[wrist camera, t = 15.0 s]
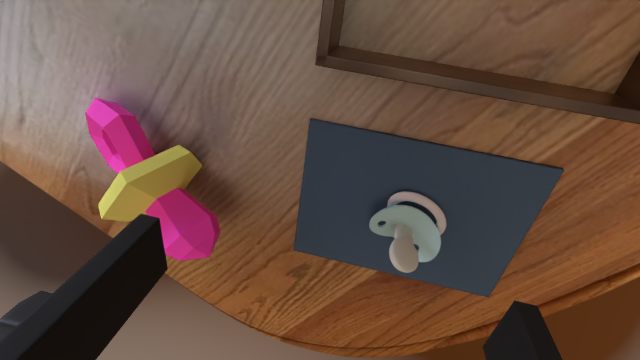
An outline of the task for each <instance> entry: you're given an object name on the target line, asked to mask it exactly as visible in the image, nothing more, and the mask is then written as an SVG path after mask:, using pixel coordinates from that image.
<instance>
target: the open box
mask: <svg viewBox="0 0 640 360" xmlns="http://www.w3.org/2000/svg"><path fill="white" fill-rule="evenodd" d="M344 5H345V0H323V5H322V13H321V22H320V30H319V38H318V46H317V54H316V63H315V64H316V65H317V66H323V67H328V68H334V69H339V70H345V71H350V72H356V73H361V74H367V75H372V76H378V77H383V78H389V79H394V80H400V81H405V82H411V83H416V84H422V85H427V86H433V87H438V88H444V89H449V90H455V91H460V92H466V93H471V94H477V95H482V96H488V97H493V98H499V99H504V100H510V101H515V102H521V103H526V104H532V105H537V106H543V107H548V108H554V109H559V110H565V111H570V112H576V113H581V114H587V115H592V116H598V117H603V118H609V119H614V120H620V121H625V122H631V123H636V124H640V53H639V55H638V57H637V58H636V60H635V62H634V63H633V65H632V66H631V68H630V70H629V71H628V73H627V75H626V76H625V78H624V80H623V81H622V83H621V85H620V86H619V88H618V90H617V91H616V93H615V94H612V93H606V92H600V91H594V90H589V89H583V88H577V87H571V86H566V85H560V84H554V83H548V82H543V81H537V80H531V79H526V78H520V77H514V76H508V75H503V74H497V73H491V72H485V71H480V70H474V69H468V68H462V67H457V66H451V65H445V64H440V63H434V62H428V61H422V60H417V59H411V58H405V57H399V56H394V55H388V54H382V53H376V52H371V51H365V50H359V49H354V48H348V47H342V46H338V45H339V38H340V32H341V25H342V18H343V12H344Z"/></svg>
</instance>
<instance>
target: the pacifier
mask: <svg viewBox="0 0 640 360" xmlns="http://www.w3.org/2000/svg"><path fill="white" fill-rule="evenodd" d="M403 201H411V202H415V203H418V204H420V205H423V206H424V207H426V208H427V209H428V210H429V211H430V212H432V214H433V215H434V216H435V218H436V220H437V223H436V225H435V224H434V222H433V221H432V220H431V218H430V217H429V216H427V215H426V214H425V213H424V212H422V211H421V210H419V209H417V208H414V207H412V206H407V205H397V204H398V203H400V202H403ZM380 221H385V222H386V223H385V224H384V225H378V223H379V222H380ZM446 226H447V224H446V218H445V215H444V213H443V212H442V210H441V209H440V207H439V206H437V205H436V204H435V203H434V202H433V201H432V200H430V199H429V198H427V197H425V196H423V195H421V194H418V193H414V192H404V191H403V192H399V193H396V194H394V195H392V196H391V197H390V199H389V200H388V204H387V208H384V209H382V210H380V211H379V212H377V213H376V214H375V215H374V216H373V217H372V218H371V220H370V223H369V227H370V229H371V231H373V232H374V233H376V234H379V235H382V236H391V237H394V238H395V240H394V241H393V242H392V244H391V246H390V250H389V256H390V260H391V262H392V264H393V266H394V267H395V268H396V269H398V270H399V271H401V272H405V273H409V272H413V271H414V270H416V268H417V266H418V263H419V262H428V261H431V260H432V259H434V258H435V257H436V256H437V254H438V252H439V249H440V246H441V237H440V235H441V234H442V233H443V232H444V231H445V229H446ZM414 244H416V245H418V246H419V249H418V250H416V248H415V246H414Z"/></svg>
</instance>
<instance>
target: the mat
mask: <svg viewBox="0 0 640 360" xmlns="http://www.w3.org/2000/svg"><path fill="white" fill-rule="evenodd" d="M563 172H564V170H563V169H562V168H558V167H553V166H548V165H543V164H538V163H533V162H528V161H523V160H518V159H512V158H507V157H502V156H497V155H492V154H487V153H482V152H477V151H472V150H467V149H462V148H457V147H452V146H447V145H442V144H437V143H432V142H427V141H422V140H417V139H412V138H407V137H402V136H397V135H392V134H387V133H382V132H377V131H372V130H367V129H362V128H356V127H351V126H346V125H341V124H336V123H331V122H326V121H321V120H316V119H310V124H309V133H308V141H307V149H306V157H305V165H304V173H303V181H302V189H301V197H300V205H299V213H298V221H297V229H296V237H295V245H294V250H295V251H299V252H303V253H307V254H311V255H315V256H320V257H324V258H328V259H332V260H336V261H340V262H344V263H349V264H353V265H357V266H361V267H365V268H369V269H373V270H378V271H382V272H386V273H390V274H394V275H398V276H402V277H407V278H411V279H415V280H419V281H423V282H427V283H431V284H436V285H440V286H444V287H448V288H452V289H456V290H460V291H465V292H469V293H473V294H477V295H481V296H485V297H489V296H490V294H491V292H492V291H493V289H494V287H495V286H496V284H497V282H498V281H499V279H500V277H501V276H502V274H503V272H504V271H505V269H506V267H507V266H508V264H509V262H510V261H511V259H512V257H513V255H514V254H515V252H516V250H517V249H518V247H519V245H520V244H521V242H522V240H523V239H524V237H525V235H526V234H527V232H528V230H529V229H530V227H531V225H532V224H533V222H534V220H535V219H536V217H537V215H538V214H539V212H540V210H541V209H542V207H543V205H544V204H545V202H546V200H547V199H548V197H549V195H550V193H551V192H552V190H553V188H554V187H555V185H556V183H557V182H558V180H559V178H560V177H561V175H562V173H563ZM403 191H404V192H414V193H418V194H421V195H423V196H425V197H427V198H429V199H430V200H432V201H433V202H434V203H435V204H436V205H437V206H439V207H440V209H441V210H442V212H443V213H444V215H445V218H446V224H447V226H446V229H445V231H444V232H443V233H442V234H441V235H440V237H441V246H440V249H439V252H438V254H437V256H436V257H435V258H434V259H432V260H431V261H428V262H419V263H418V266H417V268H416V270H414V271H413V272H409V273H405V272H401V271H399V270H398V269H396V268H395V267H394V266H393V264H392V262H391V260H390V256H389V250H390V246H391V244H392V242H393V241H394V240H395V238H394V237H391V236H382V235H379V234H376V233H374V232H373V231H371V229H370V227H369V223H370V220H371V218H372V217H373V216H374V215H375V214H376V213H377V212H379V211H380V210H382V209H384V208H387V204H388V200H389V199H390V197H391V196H392V195H394V194H396V193H399V192H403ZM397 205H407V206H412V207H414V208H417V209H419V210H421V211H422V212H424V213H425V214H426V215H427V216H429V217H430V218H431V220H432V221H433V222H434V224H435V225H436V223H437V220H436V218H435V216H434V215H433V214H432V212H430V211H429V210H428V209H427V208H426V207H424V206H423V205H420V204H418V203H415V202H411V201H403V202H400V203H398V204H397ZM385 223H386V222H385V221H380V222H379V223H378V225H384V224H385ZM414 246H415V248H416V250H418V249H419V246H418V245H416V244H414Z"/></svg>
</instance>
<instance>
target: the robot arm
mask: <svg viewBox="0 0 640 360" xmlns="http://www.w3.org/2000/svg"><path fill="white" fill-rule="evenodd" d="M167 269H168V268H167V262H166V256H165V249H164V243H163V237H162V231H161V224H160V218H157V217H153V216H149V215H145V214H140V215H139V216H138V217H136V218H135V219H134V220H133V221H132V222H131V223H130V224H129V225H128V226H126V227H125V228H124V229H123V230H122V231H121V232H120V233H119V234H118V235H117V236H115V237H114V238H113V239H112V240H111V241H110V242H109V243H108V244H107V245H106V246H105V247H104V248H102V249H101V250H100V251H99V252H98V253H97V254H96V255H94V256H93V257H92V258H91V259H90V260H89V261H88V262H87V263H86V264H85V265H83V266H82V267H81V268H80V269H79V270H78V271H77V272H76V273H75V274H74V275H72V276H71V277H70V278H69V279H68V280H67V281H66V282H65V283H64V284H63V285H61V286H60V287H59V288H58V289H57V290H56V291H55V292H54V293H53V294H52V293H48V292H44V291H40V292H38V293H36V294H34V295H32V296H31V297H29V298H27V299H25V300H23V301H21V302H20V303H18V304H17V305H16V306H15V307H14V308H12V309H11V310H10V311H9V312H8V313H6V314H5V315H4V316H3V317H2V318H1V319H0V360H96V359H97V357H98V356H99V355H100V354H101V352H102V351H103V350H104V348H105V347H106V346H107V345H108V344H109V342H110V341H111V340H112V338H113V337H114V336H115V335H116V333H117V332H118V331H119V330H120V328H121V327H122V326H123V324H124V323H125V322H126V321H127V319H128V318H129V317H130V316H131V314H132V313H133V312H134V311H135V309H136V308H137V307H138V305H139V304H140V303H141V302H142V301H143V299H144V298H145V297H146V295H147V294H148V293H149V292H150V290H151V289H152V288H153V287H154V285H155V284H156V283H157V282H158V280H159V279H160V278H161V276H162V275H163V274H164V273H165V271H166V270H167ZM483 349H484V353H485V357H486V360H562V358H561V356H560V354H559V352H558V349H557V347H556V345H555V343H554V341H553V339H552V336H551V334H550V332H549V330H548V328H547V326H546V324H545V321H544V319H543V317H542V315H541V313H540V311H539V309H538V306H535V305H531V304H526V303H522V302H518V301H514V302H513V303H512V305H511V306H510V308H509V309H508V311H507V312H506V314H505V315H504V317H503V318H502V319H501V321H500V322H499V324H498V325H497V327H496V328H495V330H494V331H493V332H492V334H491V335H490V337H489V338H488V340H487V341H486V343H485V344H484V346H483Z"/></svg>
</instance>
